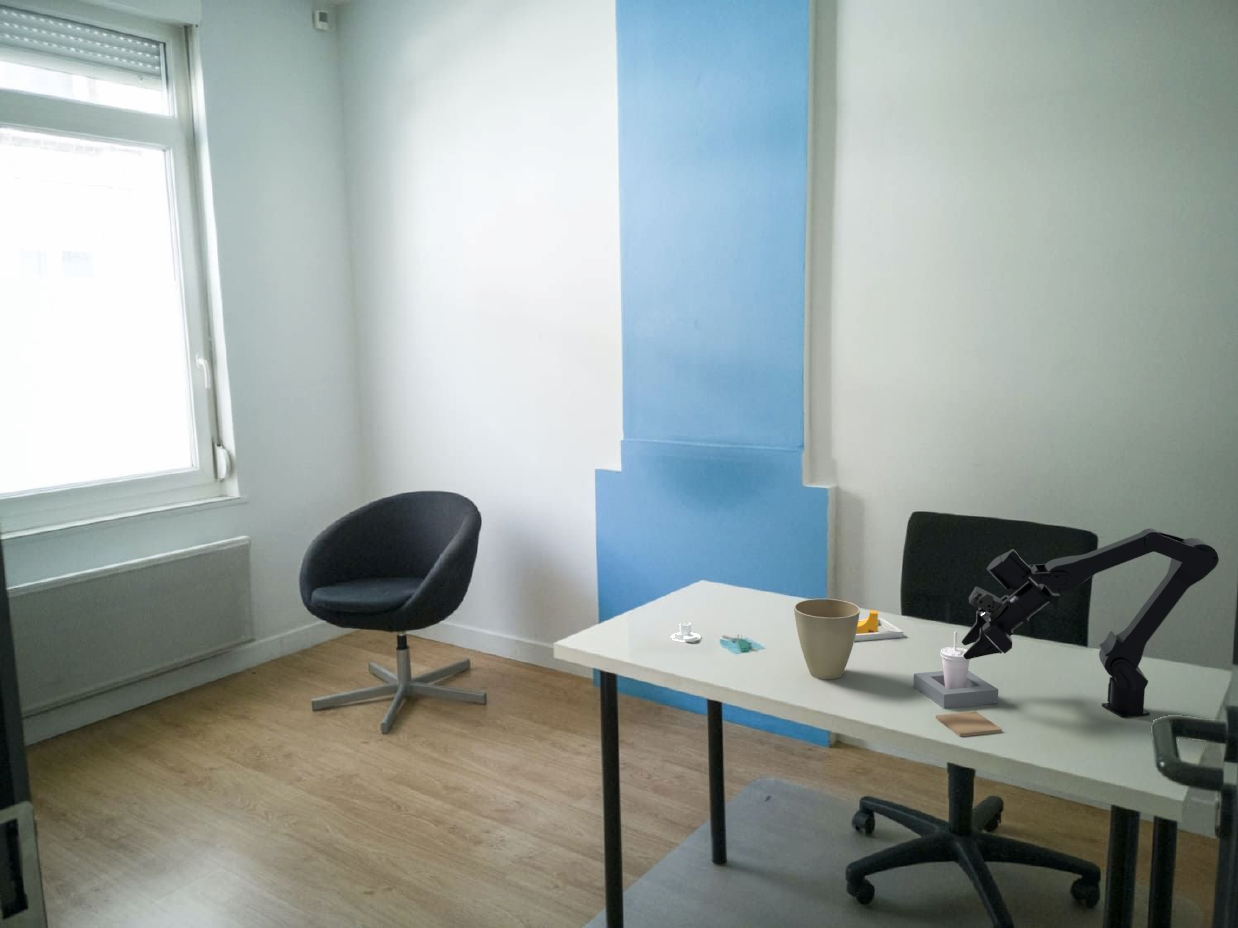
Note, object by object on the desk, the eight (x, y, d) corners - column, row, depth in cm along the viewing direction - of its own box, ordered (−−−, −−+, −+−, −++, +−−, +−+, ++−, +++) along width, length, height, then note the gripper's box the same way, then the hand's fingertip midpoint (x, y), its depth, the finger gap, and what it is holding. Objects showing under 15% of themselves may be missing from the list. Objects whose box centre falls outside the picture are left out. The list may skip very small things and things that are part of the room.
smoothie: (963, 688, 202) (965, 627, 200) (975, 699, 196) (977, 636, 194) (934, 689, 202) (936, 628, 200) (945, 700, 196) (947, 637, 194)
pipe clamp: (877, 632, 242) (878, 609, 241) (876, 637, 238) (877, 613, 237) (831, 629, 246) (831, 605, 245) (829, 633, 242) (830, 610, 241)
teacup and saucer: (699, 645, 235) (699, 630, 235) (668, 644, 237) (668, 628, 236) (702, 634, 244) (702, 619, 243) (672, 633, 245) (672, 618, 245)
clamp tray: (903, 637, 237) (903, 631, 237) (838, 642, 234) (838, 636, 234) (881, 623, 249) (881, 618, 249) (819, 628, 246) (819, 623, 246)
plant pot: (781, 667, 217) (782, 602, 215) (835, 659, 222) (836, 595, 220) (814, 689, 203) (815, 620, 201) (872, 680, 208) (873, 612, 206)
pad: (1001, 732, 180) (1001, 729, 180) (960, 736, 178) (960, 733, 178) (975, 714, 188) (975, 711, 188) (935, 718, 187) (935, 715, 187)
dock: (998, 702, 194) (998, 689, 194) (943, 708, 192) (944, 694, 191) (964, 681, 206) (965, 668, 206) (913, 686, 204) (913, 673, 204)
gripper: (990, 566, 202) (936, 610, 207) (997, 588, 184) (937, 636, 189) (1027, 603, 201) (971, 647, 206) (1037, 629, 183) (976, 676, 188)
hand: (963, 650), depth 197 cm, fingers open, 9 cm apart
